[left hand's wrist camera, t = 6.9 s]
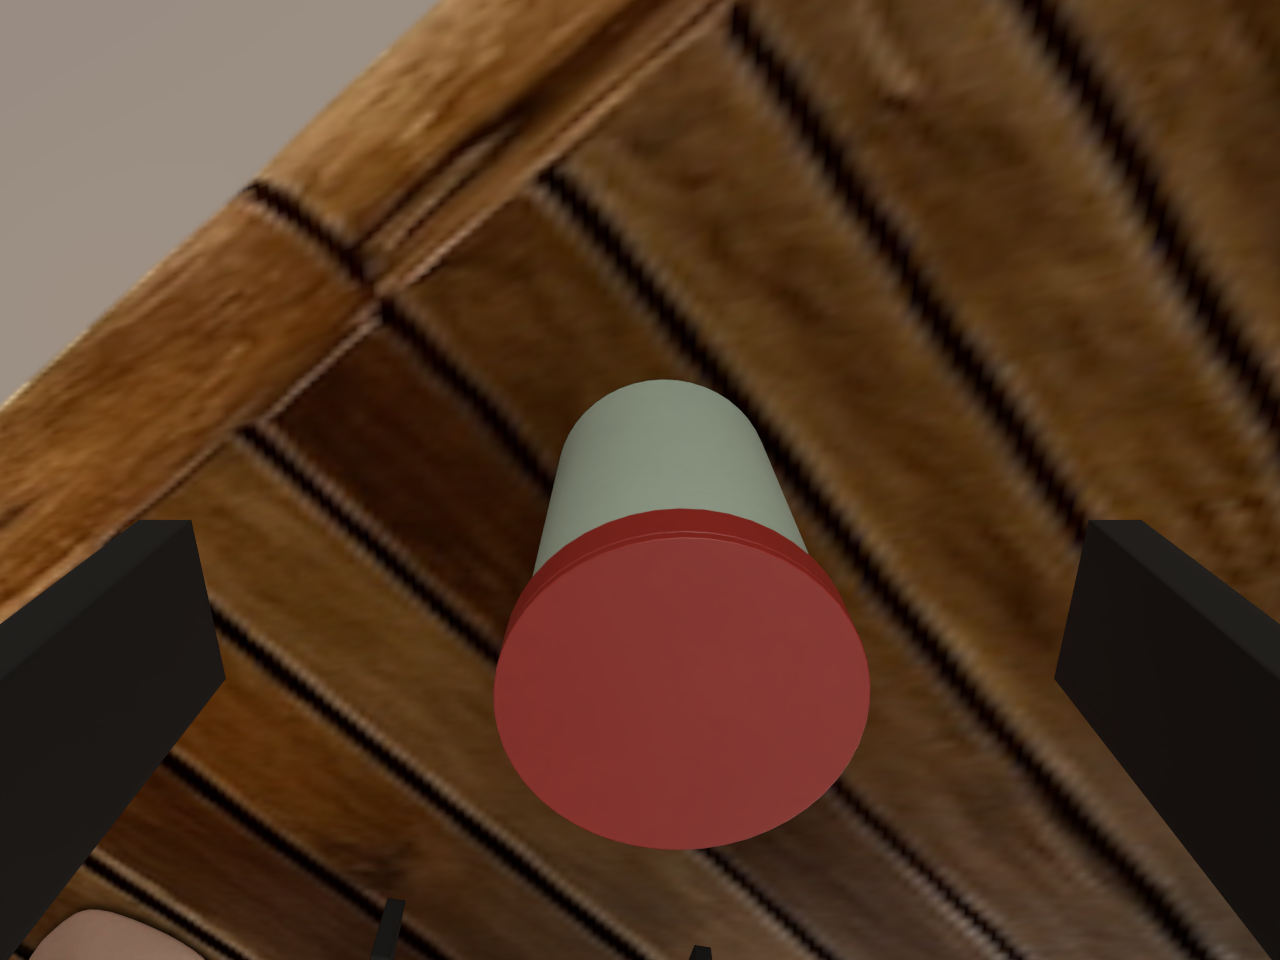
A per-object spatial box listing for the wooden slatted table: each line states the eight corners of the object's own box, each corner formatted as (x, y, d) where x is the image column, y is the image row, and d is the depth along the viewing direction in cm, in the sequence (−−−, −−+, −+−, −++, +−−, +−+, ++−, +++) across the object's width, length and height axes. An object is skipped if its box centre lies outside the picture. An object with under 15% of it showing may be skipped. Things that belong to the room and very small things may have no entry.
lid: (790, 830, 26) (801, 877, 25) (474, 769, 25) (463, 814, 24) (905, 553, 23) (927, 586, 21) (542, 469, 22) (534, 497, 20)
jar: (733, 592, 39) (790, 853, 25) (538, 549, 38) (482, 795, 24) (795, 407, 36) (902, 587, 21) (583, 356, 35) (548, 506, 21)
